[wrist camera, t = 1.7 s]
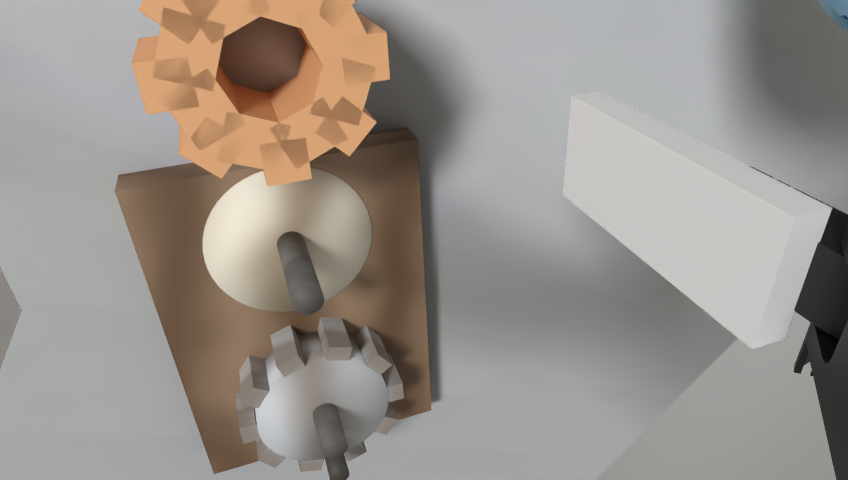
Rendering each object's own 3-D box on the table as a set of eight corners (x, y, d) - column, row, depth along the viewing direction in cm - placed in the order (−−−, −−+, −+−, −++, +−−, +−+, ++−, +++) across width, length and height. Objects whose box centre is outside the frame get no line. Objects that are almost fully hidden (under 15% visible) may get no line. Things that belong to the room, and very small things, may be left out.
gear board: (407, 127, 36) (456, 182, 29) (422, 391, 47) (460, 473, 41) (118, 175, 32) (101, 250, 25) (213, 451, 43) (218, 552, 37)
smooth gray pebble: (289, -39, 29) (309, -23, 25) (303, 63, 32) (325, 96, 27) (182, -30, 28) (181, -11, 23) (206, 76, 31) (211, 113, 26)
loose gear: (352, -82, 24) (378, -76, 21) (372, 131, 29) (396, 163, 26) (109, -65, 22) (96, -55, 18) (174, 163, 26) (173, 203, 23)
